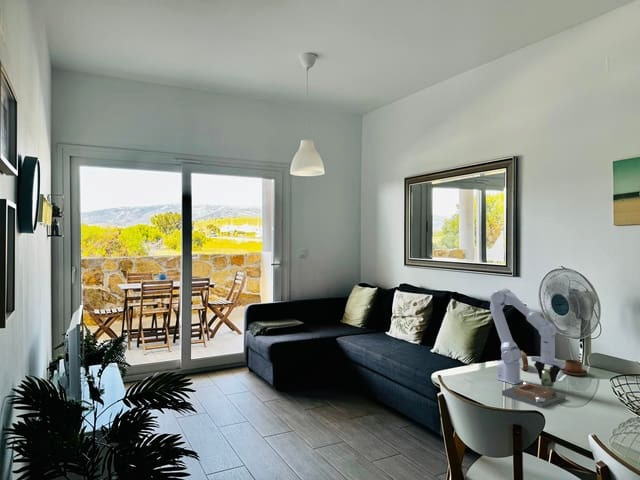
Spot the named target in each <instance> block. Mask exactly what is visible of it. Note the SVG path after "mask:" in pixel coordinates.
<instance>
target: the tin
mask: <svg viewBox="0 0 640 480" xmlns="http://www.w3.org/2000/svg"><path fill="white" fill-rule="evenodd" d="M520 351H521V353H522V357H521V358H520V359H519V362H520V369H521V370H522V371H528V370H529V361H528V360H529V359H528V356H527V353H525V352H524V351H523V350H520Z"/></svg>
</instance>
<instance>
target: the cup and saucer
mask: <svg viewBox="0 0 640 480" xmlns="http://www.w3.org/2000/svg"><path fill="white" fill-rule="evenodd" d="M564 364H565V368H564V369H562V368H561V370H560V371H561V372H562V373H564V374H566V375H570V376H577V377H579V376H586V375H587V374H588V371H587V370H586V369H584V368H583V362H582V361H580V360H575V359H566V360H565V363H564Z"/></svg>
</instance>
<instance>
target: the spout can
mask: <svg viewBox="0 0 640 480" xmlns="http://www.w3.org/2000/svg"><path fill="white" fill-rule="evenodd" d="M540 380H541V382H540V383H541V386H542V387H543V386H544V387H549V388H552V387H554V386H555V384H554V383H555V382H554V383H552V381H551V369H550V368H544V369H542V370H541V379H540Z"/></svg>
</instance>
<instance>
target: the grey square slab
mask: <svg viewBox="0 0 640 480" xmlns="http://www.w3.org/2000/svg"><path fill="white" fill-rule="evenodd" d="M501 396H503V397H507V398H510V399H513V400H515V401H519V402H521V403H525V404H527V405H530V406H534V407H537V408H540V409H545V408H546V407H550V406H552V405H554V404H557V403H560V402H562V401H565V400H566V394H565V393H561V392H557V391H554V390H553V389H549V388H546V387H543V386H540V385H535V384H533V383H532V382H531V381H528V380H523V382H522V384H518V385H515V386H512V387H509V388H506V389H503V390H501Z"/></svg>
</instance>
